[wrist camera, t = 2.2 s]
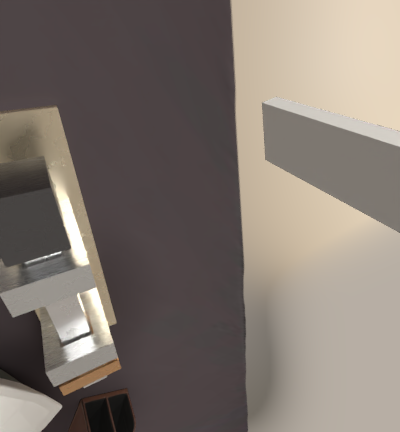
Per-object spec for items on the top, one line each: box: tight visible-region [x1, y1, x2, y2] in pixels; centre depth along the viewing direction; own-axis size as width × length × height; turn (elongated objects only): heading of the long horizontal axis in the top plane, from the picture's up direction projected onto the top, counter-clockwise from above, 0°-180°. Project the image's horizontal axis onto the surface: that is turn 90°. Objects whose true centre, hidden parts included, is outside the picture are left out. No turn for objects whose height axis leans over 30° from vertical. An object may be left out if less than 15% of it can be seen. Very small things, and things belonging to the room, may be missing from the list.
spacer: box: [59, 326, 121, 396], centre depth 38 cm, size 7×2×7 cm, turn 91°
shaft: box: [0, 156, 107, 388], centre depth 32 cm, size 5×30×7 cm, turn 1°
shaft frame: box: [0, 105, 118, 387], centre depth 34 cm, size 10×36×14 cm, turn 1°
